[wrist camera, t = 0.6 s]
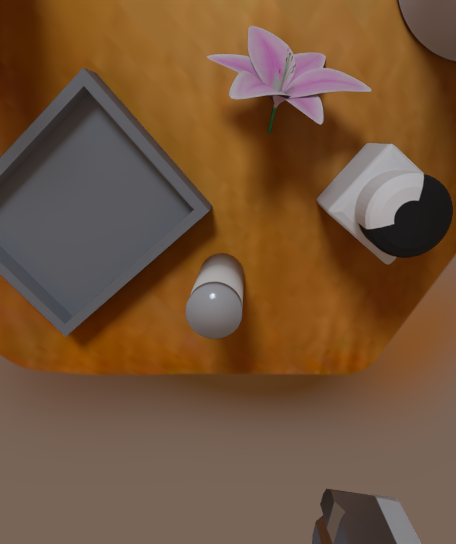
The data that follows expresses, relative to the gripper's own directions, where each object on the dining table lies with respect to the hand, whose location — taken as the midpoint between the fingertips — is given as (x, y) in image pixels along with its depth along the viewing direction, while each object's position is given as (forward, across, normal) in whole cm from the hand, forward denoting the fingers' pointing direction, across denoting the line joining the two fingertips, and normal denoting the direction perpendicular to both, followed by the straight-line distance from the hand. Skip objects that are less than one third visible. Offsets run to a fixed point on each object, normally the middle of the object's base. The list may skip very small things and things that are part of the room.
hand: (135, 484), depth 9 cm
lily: (+33, -4, -15) cm, 37 cm away
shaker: (+35, -2, +3) cm, 35 cm away
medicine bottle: (+34, -14, -7) cm, 37 cm away
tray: (+35, +13, -1) cm, 37 cm away
